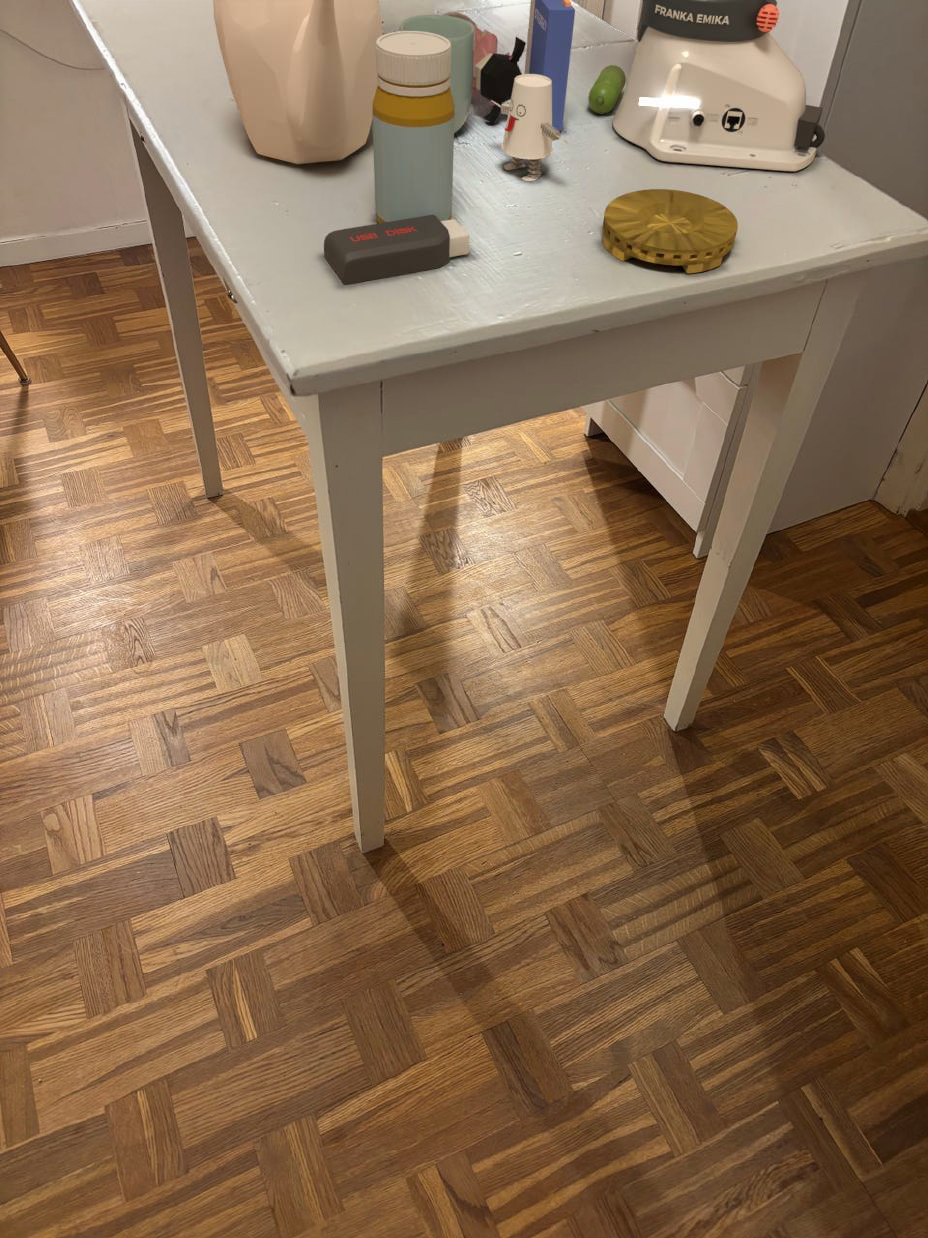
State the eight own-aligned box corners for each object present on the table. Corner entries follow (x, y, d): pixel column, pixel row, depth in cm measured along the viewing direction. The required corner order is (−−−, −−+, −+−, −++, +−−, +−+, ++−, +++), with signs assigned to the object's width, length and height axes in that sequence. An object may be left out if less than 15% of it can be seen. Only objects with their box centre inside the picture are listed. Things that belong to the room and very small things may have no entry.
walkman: (562, 130, 104) (576, 5, 95) (537, 131, 104) (549, 5, 95) (545, 104, 109) (556, -18, 100) (521, 104, 109) (531, -18, 100)
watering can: (260, 214, 88) (232, -24, 74) (214, 109, 105) (184, -102, 91) (420, 197, 92) (421, -33, 78) (351, 98, 109) (342, -106, 95)
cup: (463, 147, 100) (467, 42, 93) (392, 139, 101) (390, 33, 94) (477, 121, 106) (482, 18, 98) (409, 112, 106) (409, 10, 99)
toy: (443, -9, 107) (495, 22, 97) (493, 22, 111) (548, 55, 101) (411, 67, 111) (457, 105, 101) (460, 95, 115) (509, 133, 105)
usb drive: (324, 257, 83) (321, 226, 81) (449, 235, 87) (450, 205, 85) (343, 284, 80) (342, 253, 78) (472, 261, 83) (474, 230, 81)
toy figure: (467, 156, 99) (470, 66, 93) (509, 145, 101) (515, 57, 95) (539, 200, 92) (548, 106, 86) (582, 187, 95) (594, 95, 89)
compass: (618, 203, 92) (621, 180, 91) (741, 224, 90) (746, 201, 88) (587, 258, 85) (590, 235, 83) (720, 283, 82) (726, 260, 81)
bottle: (410, 200, 91) (410, 23, 80) (466, 223, 88) (473, 43, 77) (360, 223, 88) (352, 41, 77) (416, 248, 85) (417, 63, 74)
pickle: (599, 88, 114) (603, 59, 112) (625, 92, 114) (629, 62, 111) (582, 117, 108) (586, 86, 105) (610, 121, 107) (615, 90, 105)
